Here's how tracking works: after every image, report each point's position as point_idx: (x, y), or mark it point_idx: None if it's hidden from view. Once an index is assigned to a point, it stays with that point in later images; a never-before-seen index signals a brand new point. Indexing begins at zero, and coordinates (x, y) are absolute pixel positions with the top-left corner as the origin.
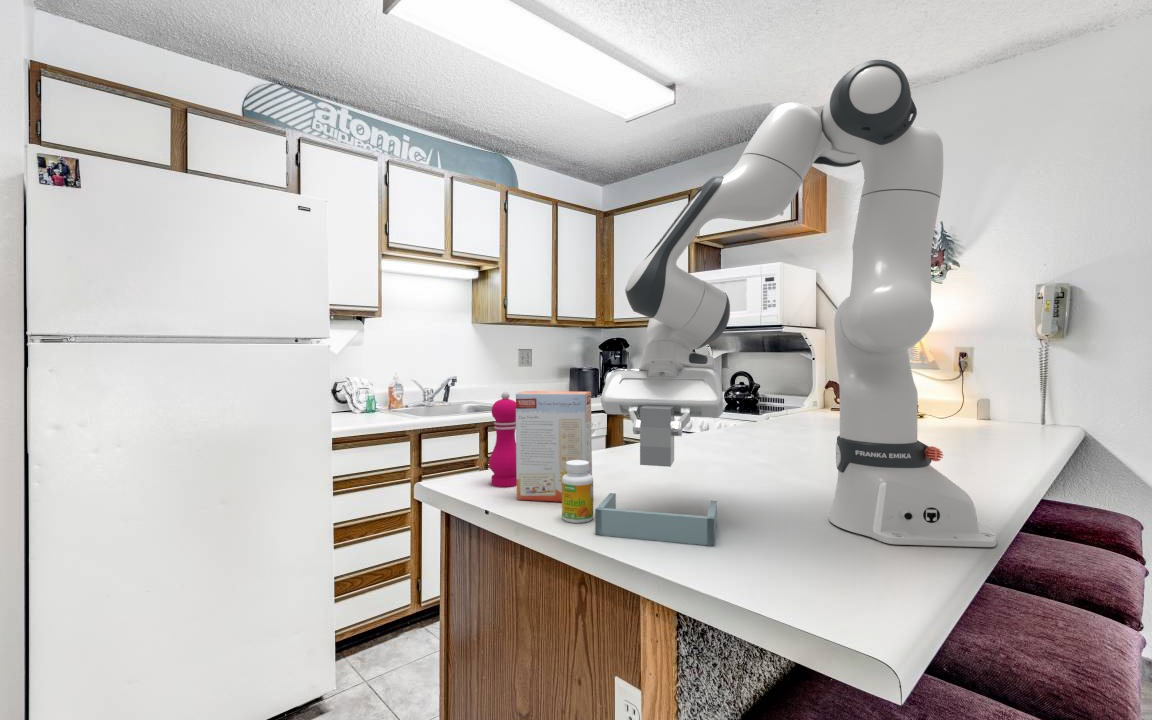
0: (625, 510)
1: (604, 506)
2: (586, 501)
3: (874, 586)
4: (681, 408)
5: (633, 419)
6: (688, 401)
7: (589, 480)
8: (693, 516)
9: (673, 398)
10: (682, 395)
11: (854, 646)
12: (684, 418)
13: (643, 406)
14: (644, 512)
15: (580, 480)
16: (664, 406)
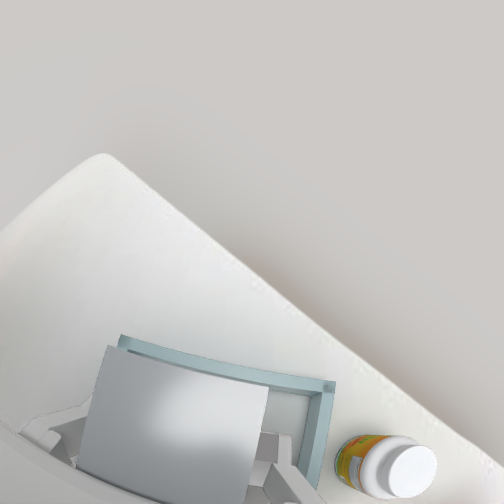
0: (277, 381)
1: (320, 403)
2: (358, 446)
3: (32, 238)
4: (49, 449)
5: (293, 467)
6: (3, 435)
7: (369, 456)
8: (151, 349)
9: (56, 486)
10: (5, 477)
11: (110, 158)
12: (64, 410)
13: (247, 471)
14: (240, 371)
15: (388, 440)
16: (123, 469)
